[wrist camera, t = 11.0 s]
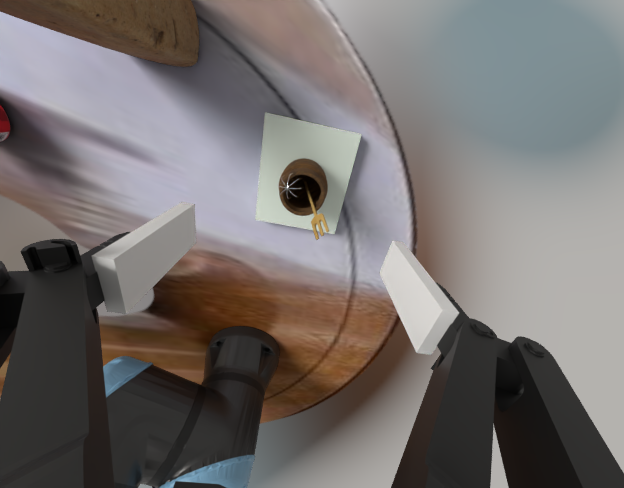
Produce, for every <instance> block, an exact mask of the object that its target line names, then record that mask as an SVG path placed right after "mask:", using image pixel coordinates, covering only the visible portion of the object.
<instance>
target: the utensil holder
mask: <svg viewBox="0 0 624 488" xmlns="http://www.w3.org/2000/svg"><path fill="white" fill-rule="evenodd" d="M327 191H328V183H327V178H326V175H325V172H324V170H323V169H322V167H321V166H320V165H319V164H318V163H317V162H315V161H313V160H311V159H306V158H301V159H297V160H294V161H292V162H291V163H290V164H289V165H288V166H287V167H286V168H285V169H284V171H283V173H282V175H281V177H280V180H279V195H280V200H281V202H282V204H283V206H284V207H285V208H286V209H287V210H288V211H289V212H291V213H293V214H295V215H298V216H307V215H311V214H313V213H314V218H313V219H312V221H311V225H312V228H313V231H314V234H315V238H316V240H318V239H319V236H318V233H317V229H316V225H318V228H319V231H320V234H321V236H323V235H324V233H323V229H322V226H321V223H320V222H321V221H322V222H323V225H324V227H325V230H326V232H329V229H328V226H327V223H326V220H325V217H324V215H323V214H322V213H321V214H317V211H318V210H319V209H320V208H321V206H322V205H323V203H324V201H325V198H326V195H327Z"/></svg>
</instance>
